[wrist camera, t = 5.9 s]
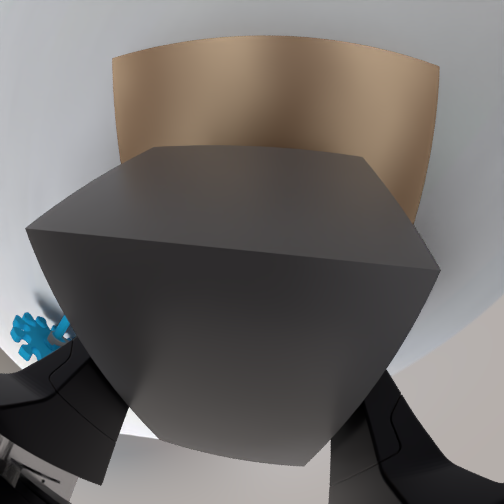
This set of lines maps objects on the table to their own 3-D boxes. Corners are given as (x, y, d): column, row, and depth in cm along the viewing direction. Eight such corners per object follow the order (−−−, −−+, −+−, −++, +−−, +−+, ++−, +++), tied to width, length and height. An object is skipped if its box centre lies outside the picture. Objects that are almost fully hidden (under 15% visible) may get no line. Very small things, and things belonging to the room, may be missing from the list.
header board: (429, 67, 8) (470, 65, 5) (356, 349, 18) (360, 391, 15) (124, 58, 10) (75, 59, 7) (168, 325, 20) (151, 362, 17)
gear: (22, 310, 23) (-4, 347, 14) (43, 272, 24) (19, 298, 15) (92, 362, 28) (93, 411, 19) (115, 328, 29) (121, 372, 20)
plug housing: (362, 156, 7) (440, 270, 3) (311, 370, 12) (303, 466, 8) (153, 146, 7) (24, 228, 3) (192, 353, 13) (160, 439, 9)
